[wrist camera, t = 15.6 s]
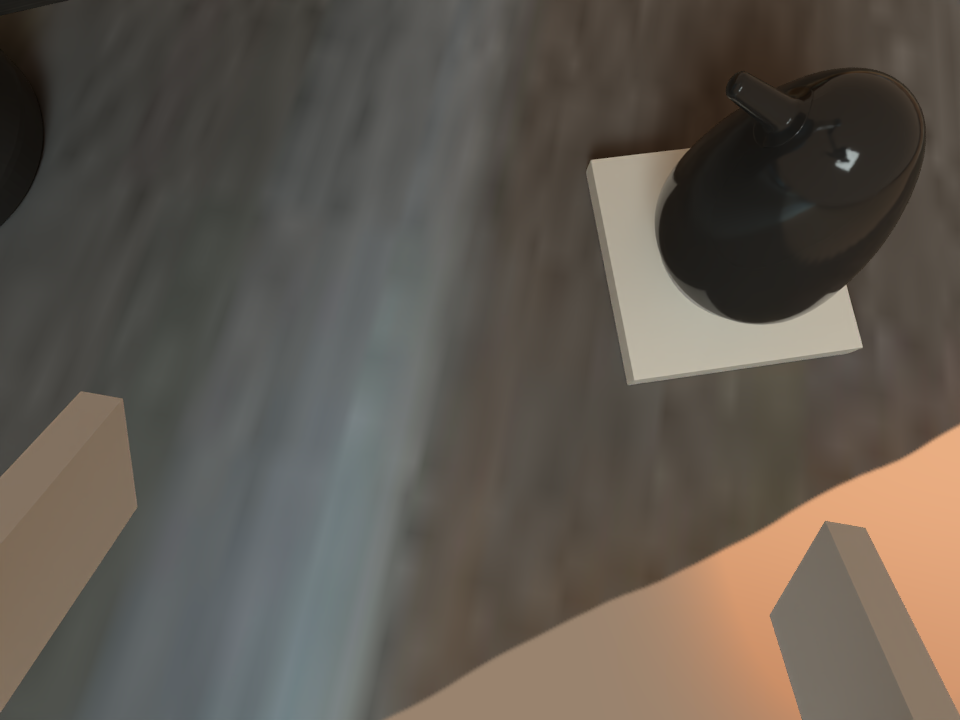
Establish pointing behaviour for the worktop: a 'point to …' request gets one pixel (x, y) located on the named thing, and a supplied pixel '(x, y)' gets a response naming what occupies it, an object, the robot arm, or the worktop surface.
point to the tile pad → (666, 311)
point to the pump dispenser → (790, 192)
